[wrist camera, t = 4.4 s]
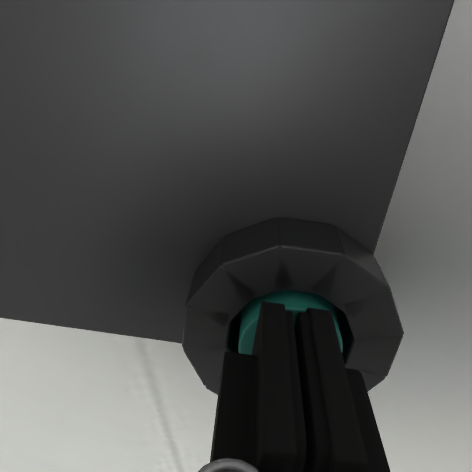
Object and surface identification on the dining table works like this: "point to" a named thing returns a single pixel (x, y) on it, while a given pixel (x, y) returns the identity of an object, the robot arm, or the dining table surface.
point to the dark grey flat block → (206, 163)
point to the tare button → (292, 302)
